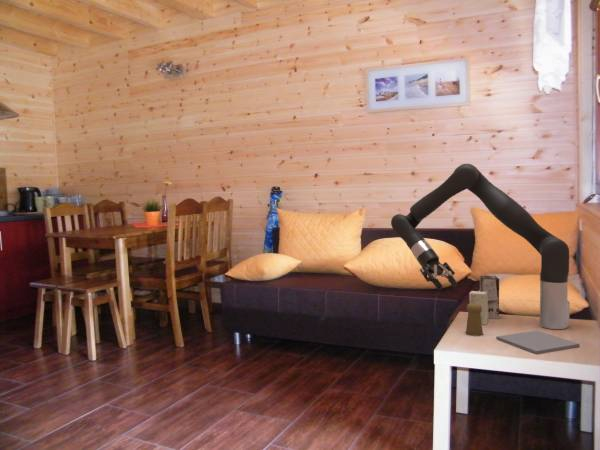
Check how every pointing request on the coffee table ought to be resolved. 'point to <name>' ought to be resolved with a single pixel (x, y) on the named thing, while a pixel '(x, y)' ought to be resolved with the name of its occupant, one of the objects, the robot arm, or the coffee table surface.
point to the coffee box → (491, 294)
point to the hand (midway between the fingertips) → (448, 287)
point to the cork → (474, 320)
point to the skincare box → (482, 300)
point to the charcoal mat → (537, 342)
